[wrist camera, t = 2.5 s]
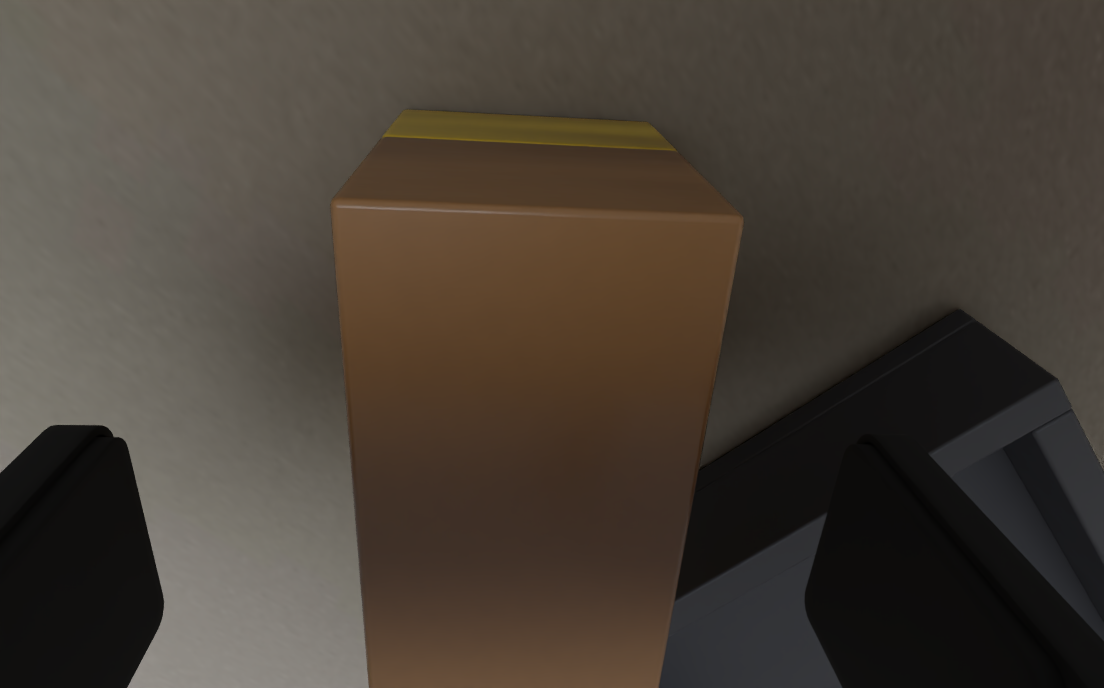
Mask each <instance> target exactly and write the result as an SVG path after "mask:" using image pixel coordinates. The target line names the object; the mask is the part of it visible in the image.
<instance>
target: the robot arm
mask: <svg viewBox="0 0 1104 688" xmlns="http://www.w3.org/2000/svg"><path fill="white" fill-rule="evenodd" d="M804 602H805V610H806V614H807V617H808V619H809V622H810V624H811V626H812V628H813V630H814V632H815V634H816V636H817V638H818V640H819V642H820V644H821V646H822V648H823V650H824V652H825V654H826V656H827V658H828V660H829V662H830V664H831V666H832V668H833V670H834V672H835V674H836V676H837V678H838V680H839V682H840V684H841V686H842V688H1104V641H1103V640H1102V639H1101V638H1100V637H1099V635H1098V634H1097V633H1096V632H1095V631H1094V630H1093V629H1092V628H1091V627H1090V626H1089V625H1088V624H1087V623H1086V622H1085V620H1084V619H1083V618H1082V617H1081V616H1080V615H1079V614H1078V613H1077V612H1076V611H1075V610H1074V609H1073V608H1072V607H1071V606H1070V604H1069V603H1068V602H1067V601H1066V600H1065V599H1064V598H1063V597H1062V596H1061V595H1060V594H1059V593H1058V592H1057V591H1056V590H1055V588H1054V587H1053V586H1052V585H1051V584H1050V583H1049V582H1048V581H1047V580H1046V579H1045V578H1044V577H1043V576H1042V575H1041V574H1040V572H1039V571H1038V570H1037V569H1036V568H1035V567H1034V566H1033V565H1032V564H1031V563H1030V562H1029V561H1028V560H1027V559H1026V557H1025V556H1024V555H1023V554H1022V553H1021V552H1020V551H1019V550H1018V549H1017V548H1016V547H1015V546H1014V545H1013V544H1012V543H1011V541H1010V540H1009V539H1008V538H1007V537H1006V536H1005V535H1004V534H1003V533H1002V532H1001V531H1000V530H999V529H998V528H997V527H996V525H995V524H994V523H993V522H992V521H991V520H990V519H989V518H988V517H987V516H986V515H985V514H984V513H983V512H982V510H981V509H980V508H979V507H978V506H977V505H976V504H975V503H974V502H973V501H972V500H971V499H970V498H969V497H968V496H967V494H966V493H965V492H964V491H963V490H962V489H961V488H960V487H959V486H958V485H957V484H956V483H955V482H954V481H953V480H952V478H951V477H950V476H949V475H948V474H947V473H946V472H945V471H944V470H943V469H942V468H941V467H940V466H939V465H938V464H937V462H936V461H935V460H934V459H933V458H932V457H931V456H930V455H929V454H928V453H927V452H926V451H925V450H924V449H923V447H922V446H921V445H920V444H919V443H918V442H917V441H916V440H915V439H914V438H912V437H911V436H910V435H906V434H865V435H862V436H861V437H860V438H859V439H858V441H857V443H856V444H852V445H849V446H848V447H847V448H846V450H845V452H844V455H843V459H842V462H841V466H840V469H839V473H838V476H837V480H836V483H835V487H834V491H833V494H832V498H831V501H830V505H829V508H828V512H827V515H826V519H825V522H824V526H823V530H822V533H821V537H820V540H819V544H818V547H817V551H816V554H815V558H814V561H813V565H812V569H811V572H810V576H809V579H808V583H807V586H806V590H805V600H804ZM163 610H164V599H163V593H162V589H161V585H160V581H159V576H158V572H157V568H156V564H155V560H154V555H153V551H152V547H151V543H150V539H149V534H148V530H147V526H146V522H145V518H144V513H143V509H142V505H141V501H140V497H139V492H138V488H137V484H136V480H135V475H134V471H133V467H132V463H131V459H130V454H129V450H128V447H127V444H126V442H125V441H124V440H123V439H122V438H120V437H113V434H112V432H111V431H110V430H109V429H108V428H107V427H105V426H101V425H54V426H50V427H49V428H47V429H46V430H44V431H43V432H42V433H41V434H40V435H39V436H38V437H37V438H36V439H35V440H34V441H33V442H32V443H31V444H30V445H29V446H28V447H27V448H26V449H25V450H24V451H23V452H22V453H21V454H20V455H19V456H18V457H17V458H15V459H14V460H13V461H12V462H11V463H10V464H9V465H8V466H7V467H6V468H5V469H4V470H3V471H2V472H1V473H0V688H127V687H128V685H129V683H130V681H131V679H132V677H133V676H134V674H135V672H136V670H137V668H138V666H139V664H140V662H141V660H142V659H143V657H144V655H145V653H146V651H147V649H148V647H149V645H150V643H151V642H152V640H153V638H154V636H155V634H156V632H157V630H158V628H159V626H160V623H161V620H162V616H163Z"/></svg>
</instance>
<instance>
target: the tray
mask: <svg viewBox="0 0 1104 688" xmlns="http://www.w3.org/2000/svg"><path fill="white" fill-rule="evenodd" d="M1071 407H1072V406H1071V404H1070V402H1069V400H1068V398H1067V396H1066V394H1065V392H1064V390H1063V388H1062V386H1061V384H1060V382H1059V380H1058V379H1057V378H1056V377H1054V376H1053V375H1051V374H1050V373H1049V372H1047V371H1046V370H1045V369H1043V368H1042V367H1040V366H1039V365H1038V364H1036V363H1035V362H1033V361H1032V360H1031V359H1029V358H1028V357H1026V356H1025V355H1024V354H1022V353H1021V352H1020V351H1018V350H1017V349H1015V348H1014V347H1013V346H1011V345H1010V344H1008V343H1007V342H1006V341H1004V340H1003V339H1002V338H1000V337H999V336H997V335H996V334H995V333H993V332H992V331H990V330H989V329H988V328H986V327H985V326H983V325H982V324H981V323H979V322H978V321H976V320H975V319H974V318H972V317H971V316H969V315H968V314H967V313H965V312H964V311H962V310H960V309H959V310H957V311H955V312H953V313H952V314H950V315H949V316H947V317H945V318H944V319H942V320H941V321H939V322H937V323H936V324H934V325H933V326H931V327H929V328H928V329H926V330H925V331H923V332H921V333H920V334H918V335H916V336H915V337H913V338H912V339H910V340H908V341H907V342H905V343H904V344H902V345H900V346H899V347H897V348H896V349H894V350H892V351H891V352H889V353H888V354H886V355H884V356H883V357H881V358H880V359H878V360H876V361H875V362H873V363H872V364H870V365H868V366H867V367H865V368H864V369H862V370H860V371H859V372H857V373H856V374H854V375H852V376H851V377H849V378H848V379H846V380H844V381H843V382H841V383H840V384H838V385H836V386H835V387H833V388H832V389H830V390H828V391H827V392H825V393H824V394H822V395H820V396H819V397H817V398H816V399H814V400H812V401H811V402H809V403H808V404H806V405H804V406H803V407H801V408H800V409H798V410H796V411H795V412H793V413H792V414H790V415H788V416H787V417H785V418H784V419H782V420H780V421H779V422H777V423H776V424H774V425H772V426H771V427H769V428H768V429H766V430H764V431H763V432H761V433H760V434H758V435H756V436H755V437H753V438H752V439H750V440H748V441H747V442H745V443H744V444H742V445H740V446H739V447H737V448H736V449H734V450H732V451H731V452H729V453H727V454H726V455H724V456H723V457H721V458H719V459H718V460H716V461H715V462H713V463H711V464H710V465H708V466H707V467H705V468H703V469H702V470H700V471H699V472H698V476H697V482H696V487H695V493H694V498H693V503H692V509H691V514H690V520H689V525H688V531H687V536H686V542H685V547H684V552H683V558H682V563H681V569H680V574H679V580H678V585H677V591H676V596H675V602H674V607H673V612H672V618H671V623H670V629H669V634H668V640H667V645H666V651H665V656H664V661H663V667H662V672H661V678H660V683H659V688H842V686H841V684H840V682H839V680H838V678H837V676H836V674H835V672H834V670H833V668H832V666H831V664H830V662H829V660H828V658H827V656H826V654H825V652H824V650H823V648H822V646H821V644H820V642H819V640H818V638H817V636H816V634H815V632H814V630H813V628H812V626H811V624H810V622H809V619H808V617H807V614H806V610H805V602H804V600H805V590H806V586H807V583H808V579H809V576H810V572H811V569H812V565H813V561H814V558H815V554H816V551H817V547H818V544H819V540H820V537H821V533H822V530H823V526H824V522H825V519H826V515H827V512H828V508H829V505H830V501H831V498H832V494H833V491H834V487H835V483H836V480H837V476H838V473H839V469H840V466H841V462H842V459H843V455H844V452H845V450H846V448H847V447H848V446H849V445H852V444H856V443H857V441H858V439H859V438H860V437H861V436H862V435H865V434H906V435H910V436H911V437H912V438H914V439H915V440H916V441H917V442H918V443H919V444H920V445H921V446H922V447H923V449H924V450H925V451H926V452H927V453H928V454H929V455H930V456H931V457H932V458H933V459H934V460H935V461H936V462H937V464H938V465H939V466H940V467H941V468H942V469H943V470H944V471H945V472H946V473H947V474H948V475H949V476H950V477H951V478H952V480H953V481H954V482H955V483H956V484H957V485H958V486H959V487H960V488H961V489H962V490H963V491H964V492H965V493H966V494H967V496H968V497H969V498H970V499H971V500H972V501H973V502H974V503H975V504H976V505H977V506H978V507H979V508H980V509H981V510H982V512H983V513H984V514H985V515H986V516H987V517H988V518H989V519H990V520H991V521H992V522H993V523H994V524H995V525H996V527H997V528H998V529H999V530H1000V531H1001V532H1002V533H1003V534H1004V535H1005V536H1006V537H1007V538H1008V539H1009V540H1010V541H1011V543H1012V544H1013V545H1014V546H1015V547H1016V548H1017V549H1018V550H1019V551H1020V552H1021V553H1022V554H1023V555H1024V556H1025V557H1026V559H1027V560H1028V561H1029V562H1030V563H1031V564H1032V565H1033V566H1034V567H1035V568H1036V569H1037V570H1038V571H1039V572H1040V574H1041V575H1042V576H1043V577H1044V578H1045V579H1046V580H1047V581H1048V582H1049V583H1050V584H1051V585H1052V586H1053V587H1054V588H1055V590H1056V591H1057V592H1058V593H1059V594H1060V595H1061V596H1062V597H1063V598H1064V599H1065V600H1066V601H1067V602H1068V603H1069V604H1070V606H1071V607H1072V608H1073V609H1074V610H1075V611H1076V612H1077V613H1078V614H1079V615H1080V616H1081V617H1082V618H1083V619H1084V620H1085V622H1086V623H1087V624H1088V625H1089V626H1090V627H1091V628H1092V629H1093V630H1094V631H1095V632H1096V633H1097V634H1098V635H1099V637H1100V638H1101V639H1102V640H1103V641H1104V471H1103V469H1102V467H1101V465H1100V463H1099V461H1098V459H1097V457H1096V455H1095V453H1094V451H1093V449H1092V447H1091V445H1090V443H1089V441H1088V439H1087V437H1086V435H1085V433H1084V431H1083V429H1082V427H1081V425H1080V423H1079V421H1078V419H1077V417H1076V415H1075V413H1074V411H1073V410H1072V409H1071Z"/></svg>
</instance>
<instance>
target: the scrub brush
mask: <svg viewBox="0 0 1104 688" xmlns="http://www.w3.org/2000/svg"><path fill="white" fill-rule="evenodd" d="M330 209H331V222H332V234H333V247H334V259H335V272H336V284H337V297H338V309H339V322H340V334H341V347H342V359H343V371H344V384H345V396H346V409H347V421H348V434H349V446H350V459H351V471H352V484H353V496H354V509H355V521H356V534H357V546H358V558H359V571H360V583H361V596H362V608H363V621H364V633H365V646H366V658H367V671H368V683H369V688H659V683H660V678H661V672H662V667H663V661H664V656H665V651H666V645H667V640H668V634H669V629H670V623H671V618H672V612H673V607H674V602H675V596H676V591H677V585H678V580H679V574H680V569H681V563H682V558H683V552H684V547H685V542H686V536H687V531H688V525H689V520H690V514H691V509H692V503H693V498H694V493H695V487H696V482H697V476H698V471H699V465H700V460H701V454H702V449H703V444H704V438H705V433H706V427H707V422H708V416H709V411H710V405H711V400H712V394H713V389H714V384H715V378H716V373H717V367H718V362H719V356H720V351H721V345H722V340H723V335H724V329H725V324H726V318H727V313H728V307H729V302H730V296H731V291H732V286H733V280H734V275H735V269H736V264H737V258H738V253H739V247H740V242H741V236H742V231H743V226H744V220H743V216H742V215H741V214H740V213H739V212H738V211H737V210H736V209H735V208H734V207H733V206H732V205H731V204H730V203H729V202H728V201H727V200H726V199H725V198H724V197H723V196H722V195H721V194H720V193H719V192H718V191H717V190H716V189H715V188H714V187H713V186H712V185H711V184H710V183H709V182H708V181H707V180H706V179H705V178H704V177H703V176H702V175H701V174H700V173H699V172H698V171H697V170H696V169H695V168H694V167H693V166H692V165H691V164H690V163H689V162H688V161H687V160H686V159H685V158H684V157H683V156H682V155H681V154H680V153H678V152H677V150H676V149H675V148H674V147H673V146H672V145H671V144H670V143H669V142H668V141H667V140H666V139H665V138H664V137H663V136H662V135H661V134H660V133H659V132H658V131H657V130H656V129H655V128H654V127H653V126H652V125H651V124H650V123H648V122H639V121H620V120H601V119H582V118H562V117H543V116H524V115H504V114H485V113H466V112H446V111H427V110H408V109H406V110H404V111H402V113H401V114H400V115H399V116H398V118H397V119H396V120H395V121H394V122H393V124H392V125H391V126H390V127H389V129H388V130H387V131H386V132H385V134H384V135H383V137H382V138H381V139H380V140H379V142H378V143H377V144H376V145H375V147H374V148H373V149H372V150H371V152H370V153H369V154H368V155H367V157H366V158H365V159H364V160H363V162H362V163H361V164H360V165H359V166H358V168H357V169H356V170H355V171H354V173H353V174H352V175H351V176H350V178H349V179H348V180H347V181H346V183H345V184H344V185H343V186H342V188H341V189H340V190H339V191H338V193H337V194H336V195H335V196H334V198H333V199H332V202H331V204H330Z"/></svg>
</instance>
